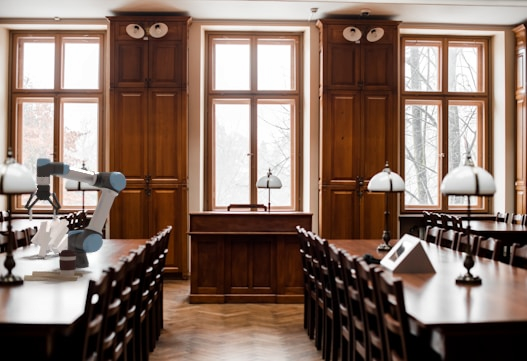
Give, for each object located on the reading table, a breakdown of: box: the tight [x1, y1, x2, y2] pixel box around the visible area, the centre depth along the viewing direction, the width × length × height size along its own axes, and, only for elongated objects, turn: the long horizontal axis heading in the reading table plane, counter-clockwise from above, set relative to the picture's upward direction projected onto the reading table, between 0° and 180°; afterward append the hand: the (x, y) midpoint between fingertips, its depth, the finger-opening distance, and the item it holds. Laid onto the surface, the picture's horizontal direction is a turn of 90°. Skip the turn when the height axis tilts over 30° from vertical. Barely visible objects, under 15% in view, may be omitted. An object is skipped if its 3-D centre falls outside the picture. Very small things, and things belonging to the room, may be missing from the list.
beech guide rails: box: [23, 270, 84, 282], centre depth 319 cm, size 16×28×2 cm, turn 96°
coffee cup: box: [57, 250, 77, 276], centre depth 320 cm, size 10×10×15 cm
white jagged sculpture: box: [30, 218, 70, 259], centre depth 417 cm, size 35×30×35 cm
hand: (42, 220), depth 333 cm, fingers open, 13 cm apart
